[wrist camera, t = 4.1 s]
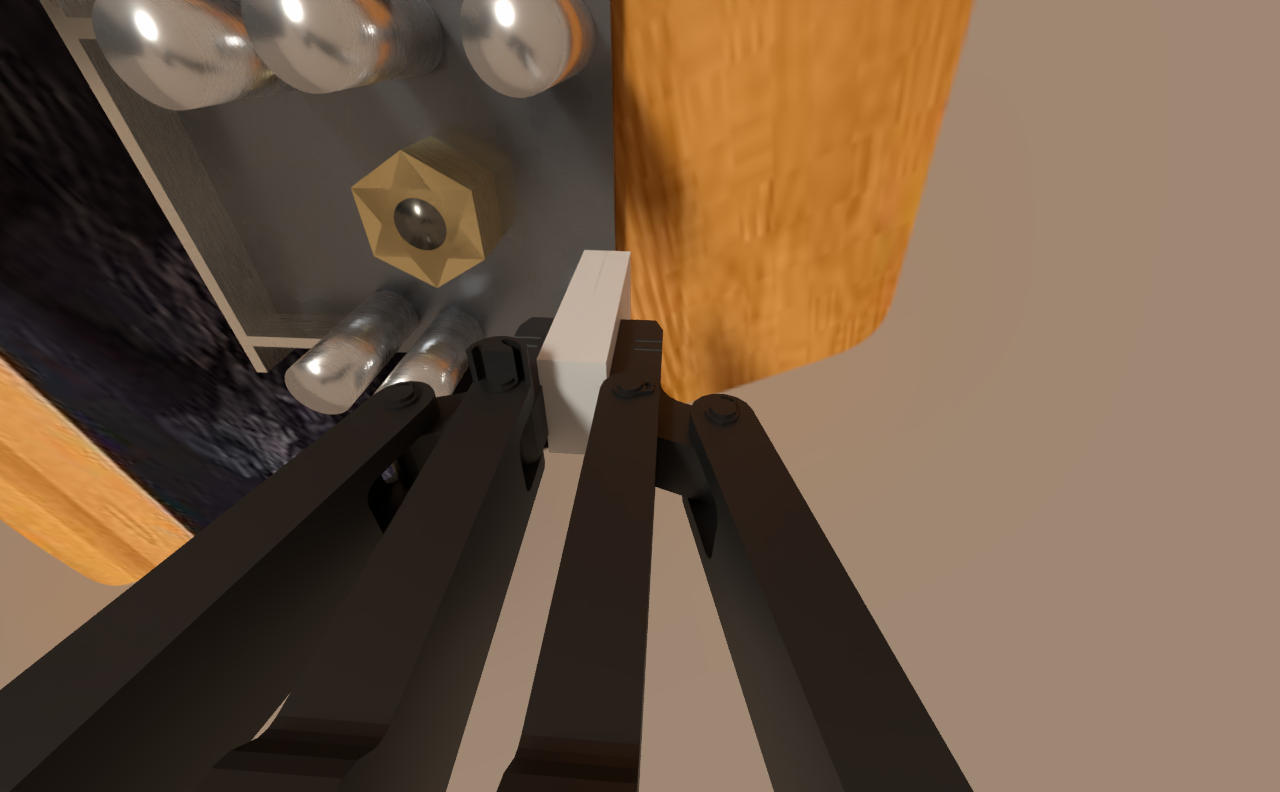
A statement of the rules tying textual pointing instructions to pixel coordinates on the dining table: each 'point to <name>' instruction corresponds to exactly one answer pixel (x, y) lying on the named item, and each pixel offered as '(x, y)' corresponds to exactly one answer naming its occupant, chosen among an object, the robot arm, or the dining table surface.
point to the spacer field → (359, 162)
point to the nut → (430, 211)
